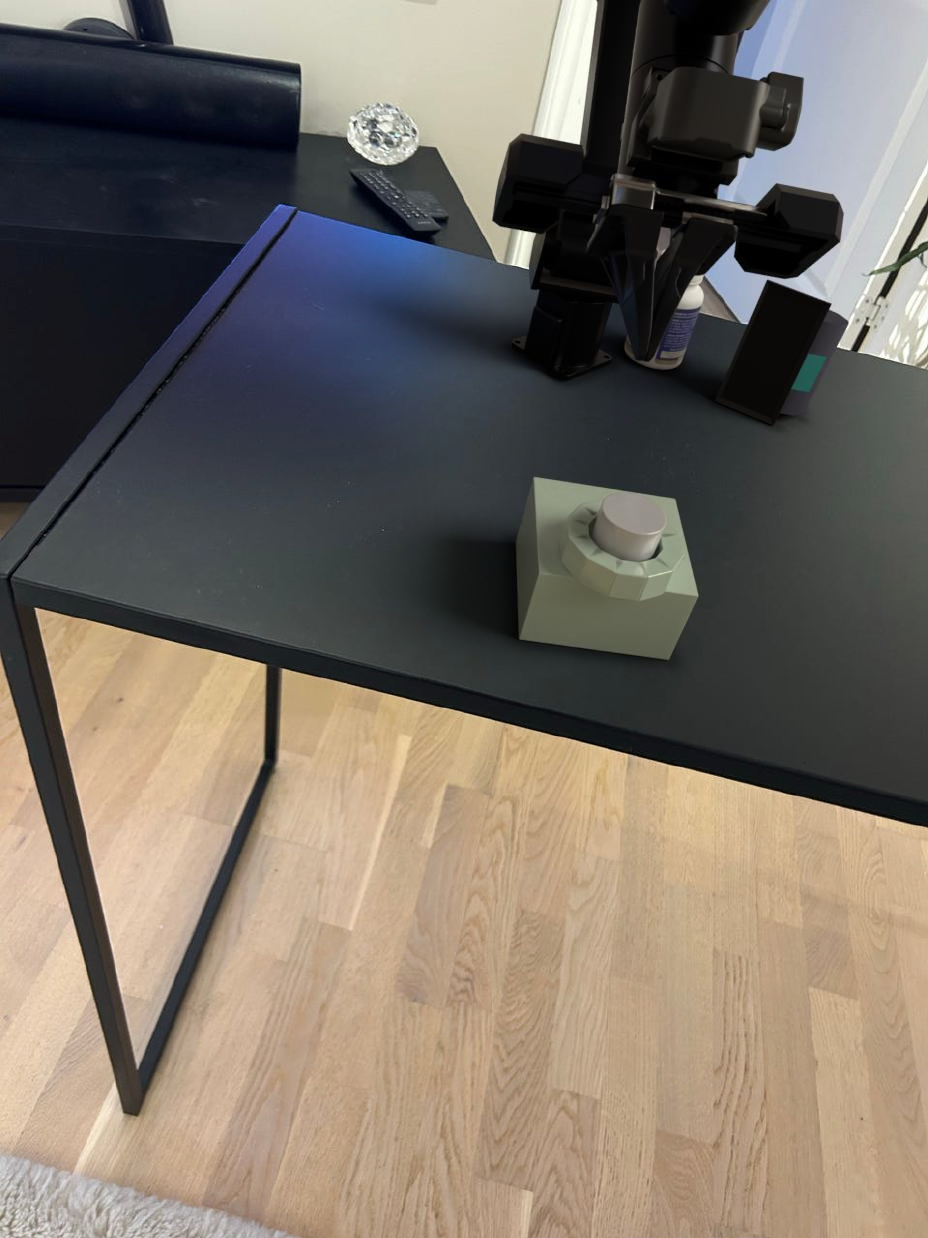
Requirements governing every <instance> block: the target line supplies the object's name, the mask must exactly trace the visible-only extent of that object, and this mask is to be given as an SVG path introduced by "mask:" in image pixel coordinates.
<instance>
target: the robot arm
mask: <svg viewBox="0 0 928 1238" xmlns="http://www.w3.org/2000/svg"><path fill="white" fill-rule="evenodd" d="M595 1H596V10H595V17H594V18H595V19H594V25H593V27H594V28H593V34H592V35H593V36H592V42H591V43H592V44H591V49H590V50H591V51H590V52H591V53H590V59H589V67H588V73H587V74H588V75H587V82H586V92H585V99H584V105H583V112H582V113H583V114H582V123H581V129H580V138H579V143H575V142H569V141H564V140H558V139H553V138H550V137H549V138H548V137H542V136H538V135H533V134H528V133H523V132H521V133H520V134H518V135H517V136H516V137H515V138H514V139H513V140H512V141H510V142H508V146H507V149H506V153H505V156H504V159H503V162H502V166H501V170H500V173H499V176H498V180H497V185H496V189H495V195H494V204H493V210H492V218H491V221H492V222H493V223H494V224H496V225H497V226H498V227H500V228H505V229H510V230H516V231H521V232H526V233H532V234H535V235H534V238H533V240H532V246H531V250H530V251H531V252H530V257H529V262H528V277H529V287H530V288H529V289H530V290H531V291H538V293H537V299H536V302H535V305H534V306H533V308H532V312H531V316H530V320H529V325H528V329H527V334H526V335H523V336H520V337H518V338H517V337H516V338H514V339H512V340H511V343H510V347H511V348H512V349H514V350H515V351H517V352H519V353H520V354H522V355H523V356H525V357H527V358H528V359H530V360H531V361H532V362H534V363H536V364H537V365H539V366H540V367H542V368H544V370H547V371H548V372H550V373H551V374H552V375H555V376H556V377H558V378H559V379H561V380H564V381H569V380H572V379H575V378H577V377H580V376H583V375H585V374H588V373H591V372H592V371H595V370H599V369H600V368H603V367H605V366H608V365H610V364H612V360H613V356H612V355H610V354H609V353H607V352H605V351H603V350H601V349H600V348H601V344H602V341H603V338H604V334H605V331H606V327H607V324H608V321H609V317H610V314H611V310H612V307H613V304H618V305H619V308H620V312H621V315H622V319H623V321H624V325H625V329H626V332H627V335H628V336H629V340H630V343H631V347H632V350H633V354H634V357H635V359H636V360H639V361H644V362H649V361H650V360H651V359H652V358H653V357H654V355H655V354H656V351H657V349H658V347H659V345H660V343H661V341H662V339H663V337H664V335H665V333H666V330H667V328H668V326H669V324H670V322H671V320H672V318H673V316H674V314H675V312H676V309H677V307H678V305H679V303H680V301H681V299H682V297H683V295H684V293H685V291H686V289H687V287H688V285H689V284H690V282H691V280H692V279H693V277H694V276H701V275H704V276H705V275H706V274H707V273H708V272H710V270H711V269H712V268H713V266H714V265H715V264H716V263H717V262H718V261H719V260H721V259H722V258H723V256H724V255H725V254H726V253H727V251H729V250H730V249H731V247H732V246H733V245H734V252H733V259H734V260H735V261H736V263H737V264H738V265H739V266H740V269H742V271H743V272H744V273H748V274H749V273H750V274H753V275H760V276H764V277H765V276H766V277H771V278H776V279H781V280H789V279H795V278H799V277H800V276H801V275H802V274H803V273H805V272H806V271H807V270H808V269H809V268H812V266H813V265H815V264H816V263H817V262H818V261H819V260H820V259H822V258H823V257H824V256H826V254H828V253H829V252H830V251H831V250H832V249H834V248H835V247H836V246H837V245H839V244H840V243H841V240H842V231H843V225H844V224H843V223H844V214H845V213H844V210H843V208H842V205H841V202H840V201H839V200H838V198H837V196H836V195H835V194H834V193H829V192H824V191H819V190H813V189H808V188H805V187H799V186H794V185H788V184H783V183H778V182H776V183H775V184H774V185H773V186H772V187H771V188H770V189H769V190H768V191H767V193H765V195H763V196H762V198H761V199H760V200H759V201H758V202H757V203H756V205H751V204H746V203H741V202H736V201H730V200H726V199H720V198H718V196H719V189H720V186H726V187H730V185H731V184H732V183H733V181H734V180H735V179H736V178H737V176H738V174H739V165H740V160H741V159H744V158H745V159H748V160H749V159H752V158H754V157H755V154H756V150H757V149H760V150H764V151H769V152H776V151H778V150H781V149H784V148H786V147H788V146H790V144H792V142H793V140H794V138H795V136H796V133H797V131H798V126H799V121H800V117H801V113H802V108H803V96H804V85H805V77H802V76H798V75H793V74H787V73H783V72H778V71H770V72H769V73H768V74H767V76H763V77H761V78H760V79H759V80H758V79H755V78H749V77H744V76H740V75H735V74H734V72H735V64H736V57H737V49H738V41H739V33H741V32H742V33H743V32H744V31H751V30H752V28H754V26H755V25H756V24H757V23H758V21H759V19H760V18H761V16H762V14H764V11H765V10H766V9H767V7H768V5H769V3H770V2H771V1H772V0H595ZM662 228H665V229H669V231H670V236H669V244H668V246H667V247H666V248H665V249H666V250H665V251H664V253H663V254H662V255H661V256H660V255H659V251H658V249H657V248H658V244H659V241H660V240H659V239H660V236H661V235H660V234H661V230H662ZM658 255H659V256H660V258H659V257H658Z"/></svg>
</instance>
